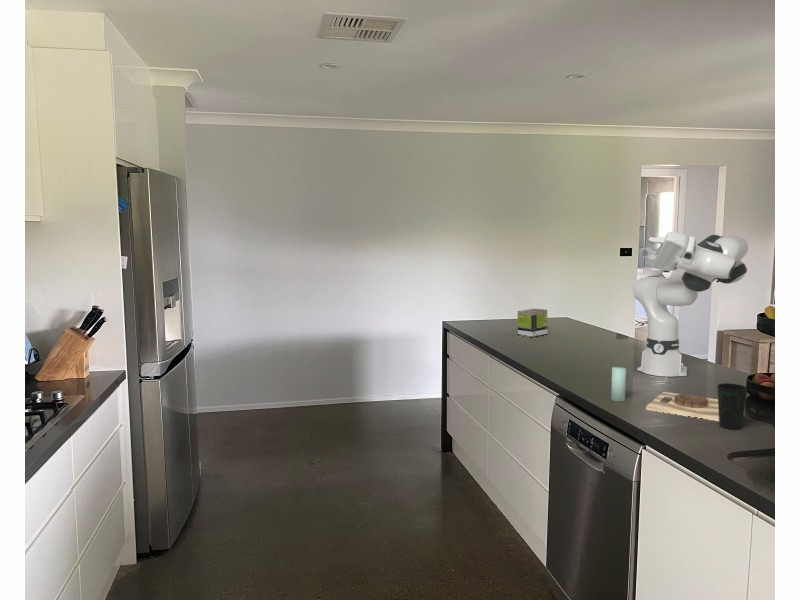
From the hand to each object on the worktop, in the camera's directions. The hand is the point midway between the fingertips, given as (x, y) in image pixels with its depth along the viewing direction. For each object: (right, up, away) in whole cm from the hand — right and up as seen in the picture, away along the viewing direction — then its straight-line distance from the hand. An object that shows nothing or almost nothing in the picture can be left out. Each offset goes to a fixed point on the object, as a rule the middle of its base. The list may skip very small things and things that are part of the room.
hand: (645, 246), depth 214 cm
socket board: (+6, -54, -20) cm, 58 cm away
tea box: (-13, -40, +122) cm, 129 cm away
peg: (-14, -53, -10) cm, 56 cm away
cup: (+8, -57, -40) cm, 70 cm away
